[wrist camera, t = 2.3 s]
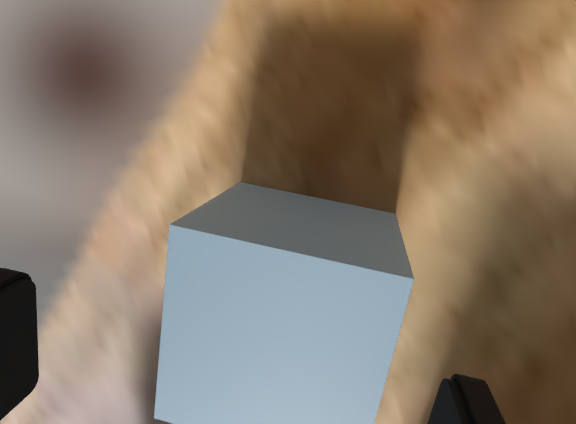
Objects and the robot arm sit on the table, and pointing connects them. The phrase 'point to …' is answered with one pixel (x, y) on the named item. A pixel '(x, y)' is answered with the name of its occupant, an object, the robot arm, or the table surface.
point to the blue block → (279, 310)
